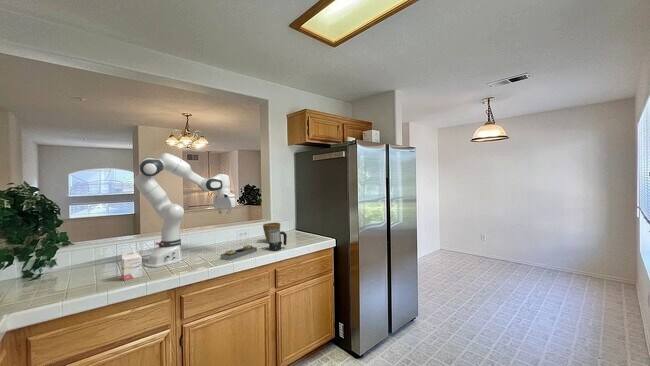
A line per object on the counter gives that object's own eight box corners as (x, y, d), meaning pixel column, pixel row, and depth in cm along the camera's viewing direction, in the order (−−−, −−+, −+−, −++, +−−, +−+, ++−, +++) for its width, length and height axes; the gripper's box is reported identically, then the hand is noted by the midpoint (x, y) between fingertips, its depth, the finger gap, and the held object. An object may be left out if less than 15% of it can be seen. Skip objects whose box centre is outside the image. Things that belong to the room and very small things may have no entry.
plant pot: (265, 240, 236) (265, 222, 236) (282, 240, 235) (282, 222, 235) (261, 244, 221) (260, 225, 221) (278, 244, 220) (278, 225, 220)
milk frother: (272, 252, 197) (271, 232, 197) (262, 248, 209) (262, 229, 209) (288, 248, 205) (288, 229, 205) (279, 245, 218) (278, 227, 218)
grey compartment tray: (230, 261, 175) (229, 256, 175) (220, 259, 180) (220, 254, 180) (256, 252, 197) (256, 247, 197) (248, 250, 202) (247, 246, 202)
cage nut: (247, 253, 192) (247, 246, 192) (243, 252, 195) (243, 246, 195) (252, 251, 196) (252, 245, 196) (248, 251, 199) (247, 244, 199)
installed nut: (230, 259, 178) (230, 252, 178) (225, 258, 181) (225, 251, 181) (235, 257, 182) (235, 250, 182) (231, 256, 185) (230, 249, 185)
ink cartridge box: (124, 281, 144) (123, 253, 144) (121, 279, 147) (120, 252, 147) (142, 276, 150) (141, 250, 150) (139, 274, 154) (138, 249, 154)
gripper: (211, 195, 201) (211, 213, 201) (229, 195, 191) (230, 214, 191) (218, 195, 206) (218, 212, 206) (236, 195, 196) (237, 213, 196)
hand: (224, 213), depth 199 cm, fingers open, 8 cm apart
